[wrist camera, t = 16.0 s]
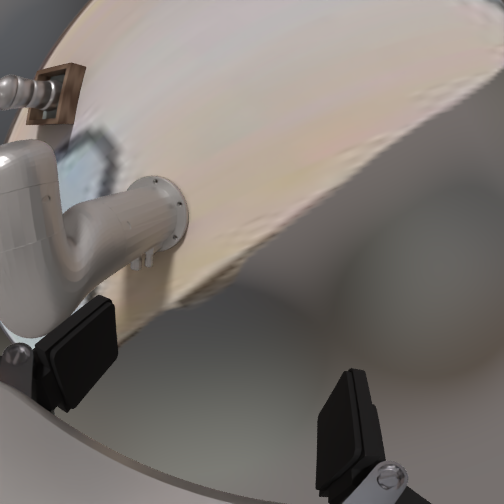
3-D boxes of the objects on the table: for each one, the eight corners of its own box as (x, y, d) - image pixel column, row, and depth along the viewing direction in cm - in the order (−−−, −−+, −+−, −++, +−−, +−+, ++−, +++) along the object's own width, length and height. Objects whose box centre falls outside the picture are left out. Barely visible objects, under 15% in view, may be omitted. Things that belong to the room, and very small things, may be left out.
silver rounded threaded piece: (67, 75, 38) (-9, 63, 19) (72, 100, 40) (-9, 93, 21) (48, 93, 40) (-25, 88, 21) (53, 118, 41) (-24, 118, 23)
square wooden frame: (73, 124, 42) (57, 123, 38) (40, 124, 43) (25, 124, 39) (86, 66, 38) (71, 62, 34) (51, 73, 39) (37, 71, 35)
